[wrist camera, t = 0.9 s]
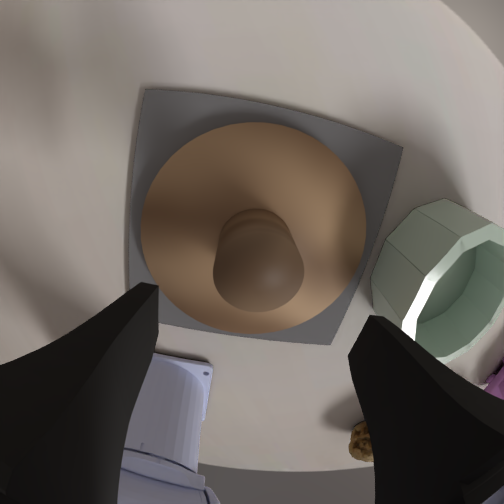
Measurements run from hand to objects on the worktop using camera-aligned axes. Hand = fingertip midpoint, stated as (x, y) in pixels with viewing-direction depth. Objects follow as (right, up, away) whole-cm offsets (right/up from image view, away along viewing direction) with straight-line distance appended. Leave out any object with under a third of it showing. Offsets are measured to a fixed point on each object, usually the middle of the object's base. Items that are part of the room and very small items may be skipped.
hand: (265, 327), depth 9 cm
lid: (0, +3, +7) cm, 8 cm away
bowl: (+13, +1, +9) cm, 16 cm away
